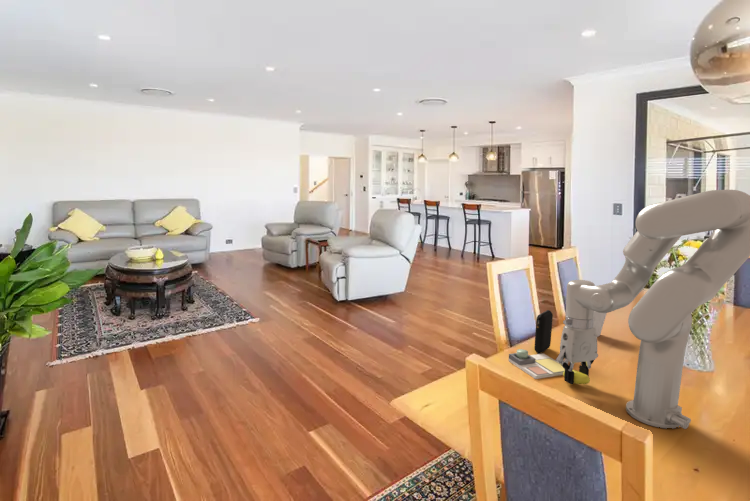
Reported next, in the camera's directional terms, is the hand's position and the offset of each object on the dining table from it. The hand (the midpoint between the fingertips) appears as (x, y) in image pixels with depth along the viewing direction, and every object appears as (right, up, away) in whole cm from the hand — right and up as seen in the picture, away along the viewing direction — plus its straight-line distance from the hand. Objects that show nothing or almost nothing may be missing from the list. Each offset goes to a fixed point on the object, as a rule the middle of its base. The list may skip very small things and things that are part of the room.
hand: (576, 380), depth 129 cm
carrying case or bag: (-1, +3, +25) cm, 25 cm away
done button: (-11, +3, +14) cm, 19 cm away
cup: (+26, +5, +43) cm, 50 cm away
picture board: (-6, +1, +12) cm, 14 cm away
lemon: (0, -1, 0) cm, 1 cm away
